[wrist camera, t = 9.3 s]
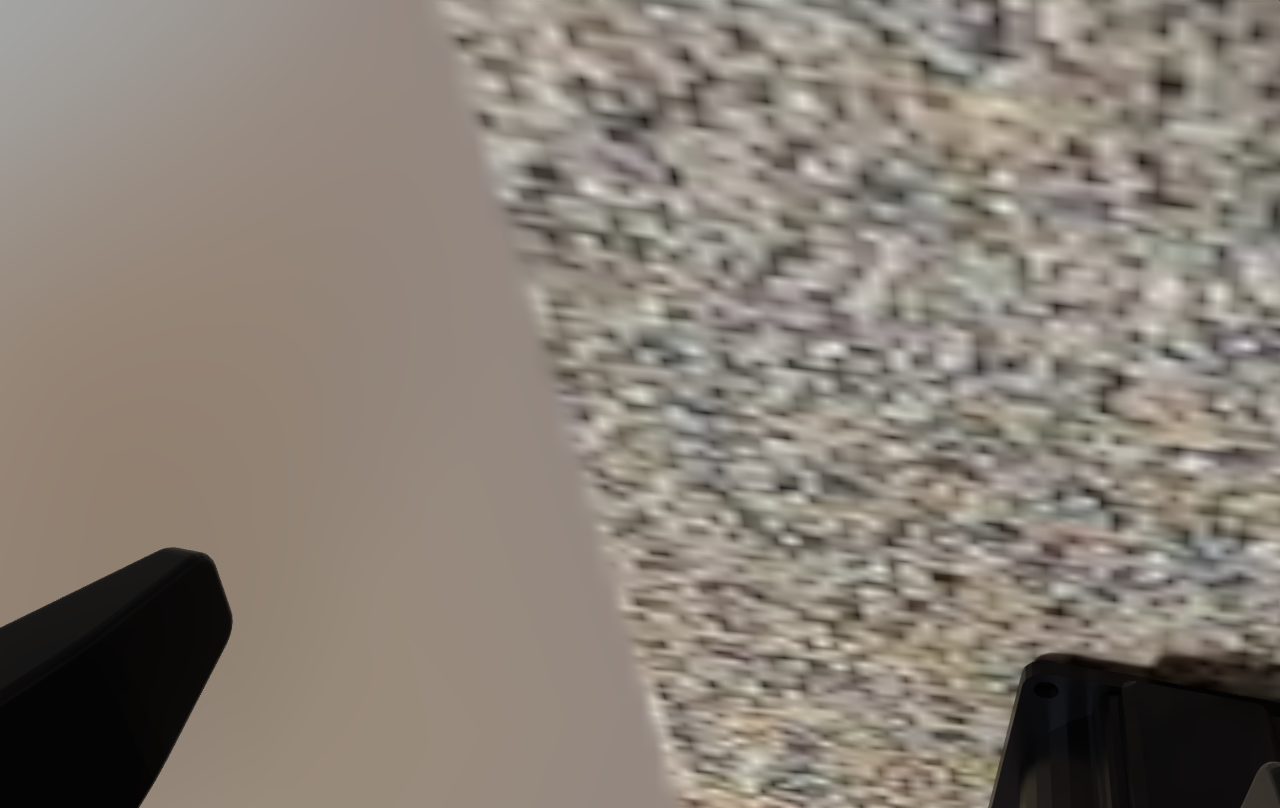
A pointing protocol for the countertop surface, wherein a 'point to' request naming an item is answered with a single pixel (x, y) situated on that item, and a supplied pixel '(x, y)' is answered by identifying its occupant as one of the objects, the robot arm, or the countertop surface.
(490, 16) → the countertop surface
